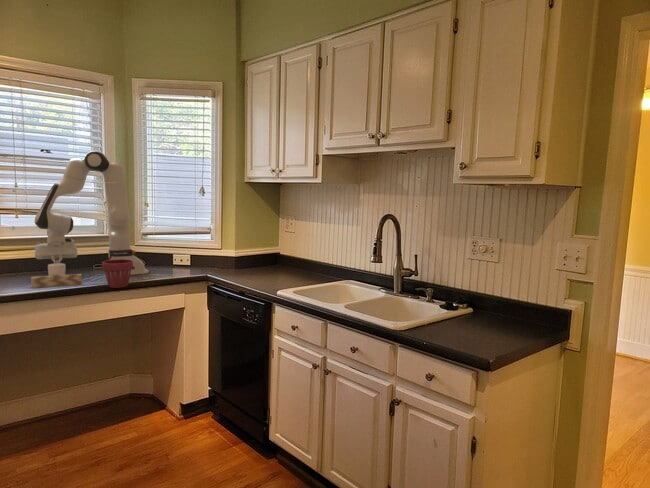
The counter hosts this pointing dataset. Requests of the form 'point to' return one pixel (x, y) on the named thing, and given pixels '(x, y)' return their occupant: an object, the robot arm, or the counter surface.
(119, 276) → the plant pot
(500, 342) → the counter surface
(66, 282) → the end stop
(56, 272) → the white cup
